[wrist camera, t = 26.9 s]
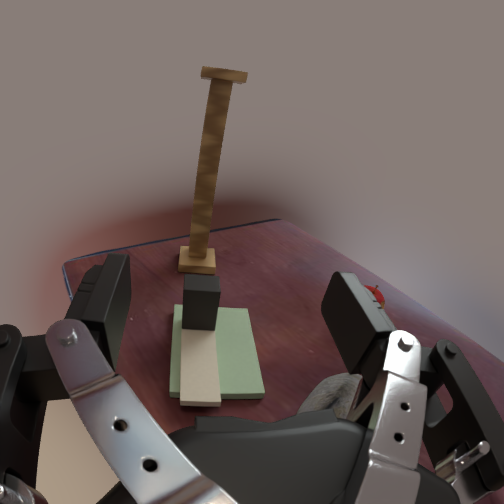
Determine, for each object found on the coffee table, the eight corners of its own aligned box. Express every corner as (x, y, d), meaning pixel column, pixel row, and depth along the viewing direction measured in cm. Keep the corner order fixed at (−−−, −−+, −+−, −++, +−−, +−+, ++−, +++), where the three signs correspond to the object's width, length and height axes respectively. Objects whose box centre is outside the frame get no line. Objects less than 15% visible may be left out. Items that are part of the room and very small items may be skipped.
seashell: (324, 479, 22) (346, 462, 19) (266, 428, 26) (278, 404, 24) (383, 412, 29) (404, 389, 27) (333, 374, 34) (349, 348, 32)
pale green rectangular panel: (169, 397, 28) (169, 391, 27) (174, 310, 40) (174, 304, 39) (262, 398, 30) (265, 392, 29) (246, 314, 42) (247, 308, 41)
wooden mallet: (180, 405, 26) (180, 363, 22) (182, 318, 37) (184, 273, 34) (220, 406, 27) (228, 365, 23) (213, 320, 38) (219, 276, 34)
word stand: (178, 271, 48) (202, 66, 32) (180, 253, 53) (202, 69, 38) (214, 274, 49) (247, 72, 34) (213, 255, 54) (242, 74, 39)
